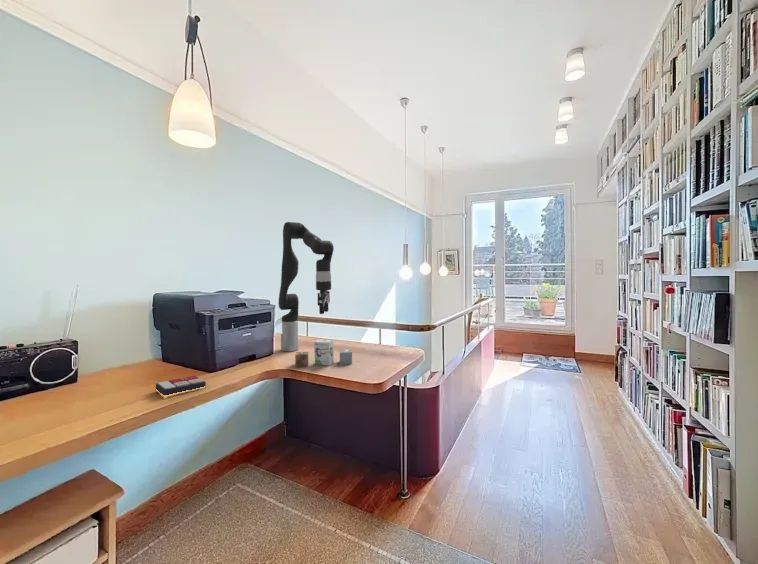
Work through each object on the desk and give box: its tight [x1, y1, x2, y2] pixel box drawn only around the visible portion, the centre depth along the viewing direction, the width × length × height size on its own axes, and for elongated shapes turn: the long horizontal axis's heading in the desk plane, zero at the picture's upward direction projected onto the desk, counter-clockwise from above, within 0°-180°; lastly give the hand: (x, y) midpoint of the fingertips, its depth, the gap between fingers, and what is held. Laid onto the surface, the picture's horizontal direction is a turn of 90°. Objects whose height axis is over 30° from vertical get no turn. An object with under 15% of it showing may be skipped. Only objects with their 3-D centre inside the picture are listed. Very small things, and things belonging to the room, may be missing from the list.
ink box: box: [313, 339, 335, 366], centre depth 176 cm, size 9×5×12 cm, turn 73°
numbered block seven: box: [339, 349, 353, 365], centre depth 178 cm, size 6×6×6 cm
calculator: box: [155, 375, 207, 395], centre depth 140 cm, size 11×4×15 cm
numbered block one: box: [294, 351, 310, 368], centre depth 174 cm, size 6×6×6 cm
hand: (324, 312), depth 175 cm, fingers open, 8 cm apart
